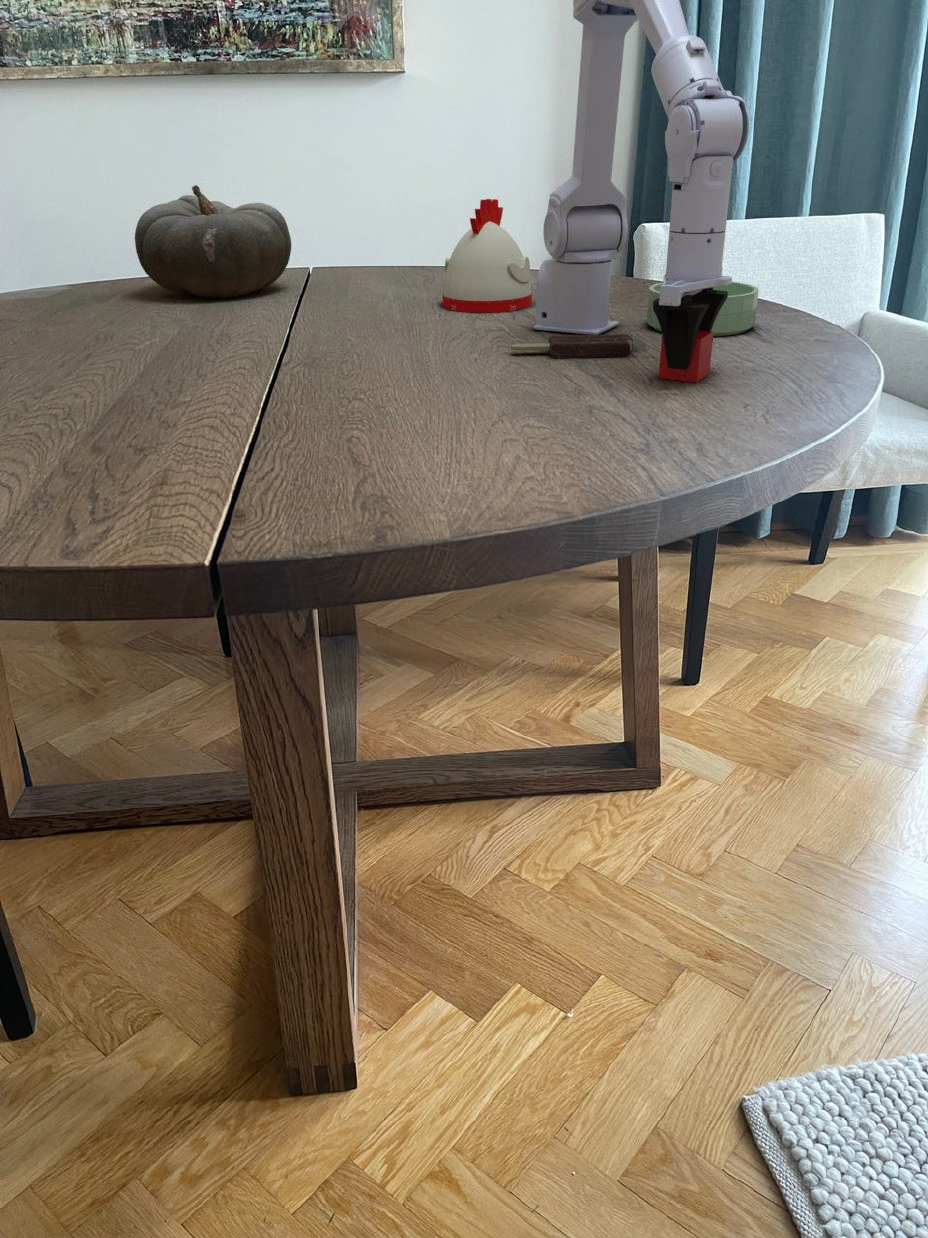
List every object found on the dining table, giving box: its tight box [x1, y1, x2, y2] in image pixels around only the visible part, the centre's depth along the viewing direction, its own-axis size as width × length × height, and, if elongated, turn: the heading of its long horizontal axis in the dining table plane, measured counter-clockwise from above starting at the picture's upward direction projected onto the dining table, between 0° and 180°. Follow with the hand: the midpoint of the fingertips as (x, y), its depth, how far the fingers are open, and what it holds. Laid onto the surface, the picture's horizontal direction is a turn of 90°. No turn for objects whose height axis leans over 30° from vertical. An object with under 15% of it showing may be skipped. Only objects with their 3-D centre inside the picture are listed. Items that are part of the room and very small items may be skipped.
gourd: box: [134, 184, 292, 299], centre depth 157 cm, size 25×25×17 cm
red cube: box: [658, 331, 714, 384], centre depth 102 cm, size 4×4×5 cm
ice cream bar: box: [510, 333, 634, 359], centre depth 114 cm, size 5×2×15 cm
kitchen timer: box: [441, 198, 533, 314], centre depth 141 cm, size 14×14×15 cm
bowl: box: [646, 281, 760, 337], centre depth 126 cm, size 14×14×5 cm
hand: (685, 363), depth 103 cm, fingers closed on red cube, 4 cm apart
